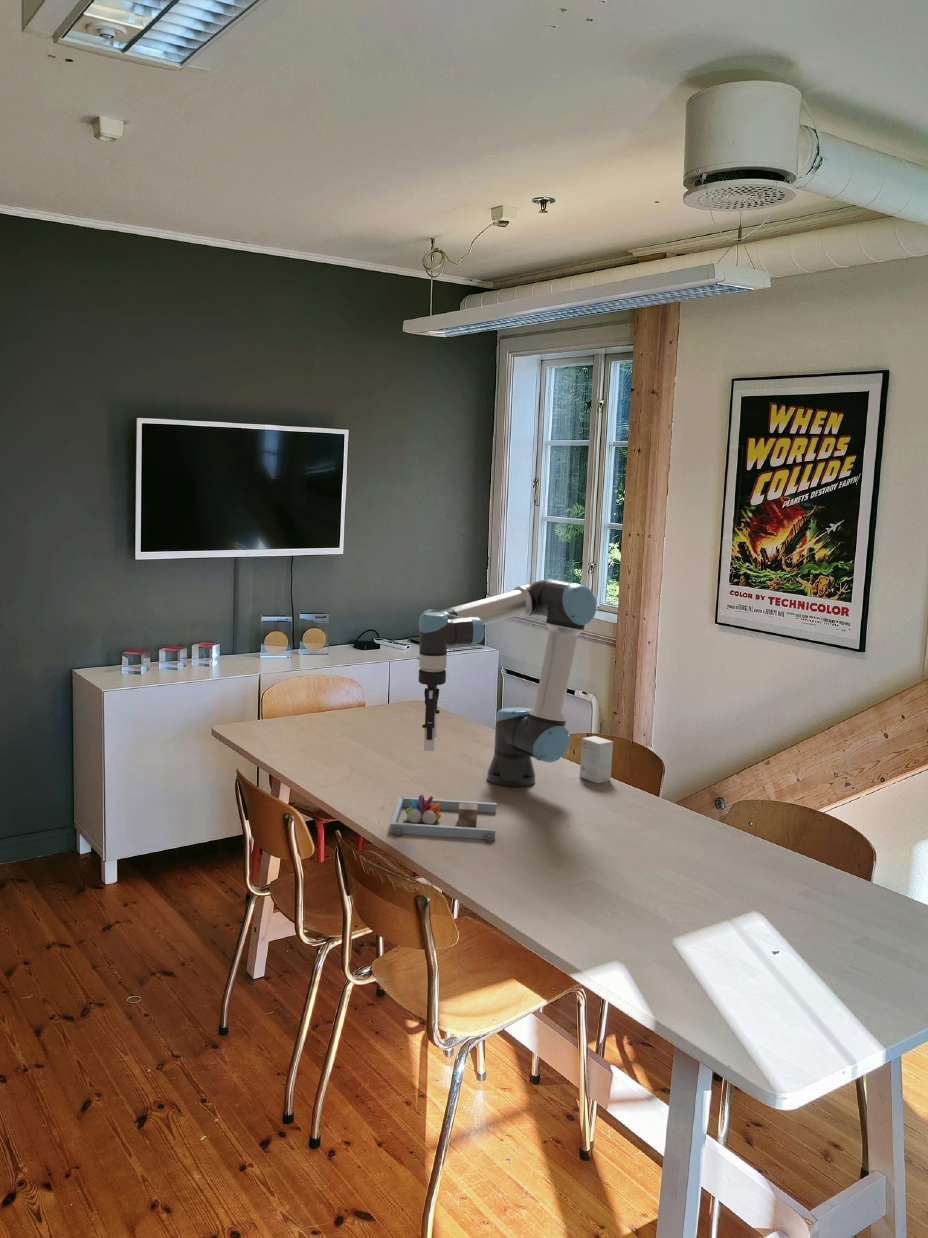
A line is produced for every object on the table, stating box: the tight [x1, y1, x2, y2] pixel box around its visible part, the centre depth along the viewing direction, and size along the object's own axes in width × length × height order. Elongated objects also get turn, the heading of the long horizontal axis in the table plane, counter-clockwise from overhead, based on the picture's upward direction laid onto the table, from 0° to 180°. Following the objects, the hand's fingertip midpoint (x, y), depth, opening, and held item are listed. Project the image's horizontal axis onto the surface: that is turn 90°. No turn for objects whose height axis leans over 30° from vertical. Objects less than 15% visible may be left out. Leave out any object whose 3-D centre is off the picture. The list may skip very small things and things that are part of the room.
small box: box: [579, 735, 614, 784], centre depth 323 cm, size 8×6×13 cm
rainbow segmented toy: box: [405, 794, 442, 825], centre depth 277 cm, size 8×10×7 cm
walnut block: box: [457, 803, 478, 828], centre depth 277 cm, size 5×5×5 cm
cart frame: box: [389, 796, 497, 844], centre depth 277 cm, size 28×27×2 cm
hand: (430, 743), depth 281 cm, fingers open, 13 cm apart
